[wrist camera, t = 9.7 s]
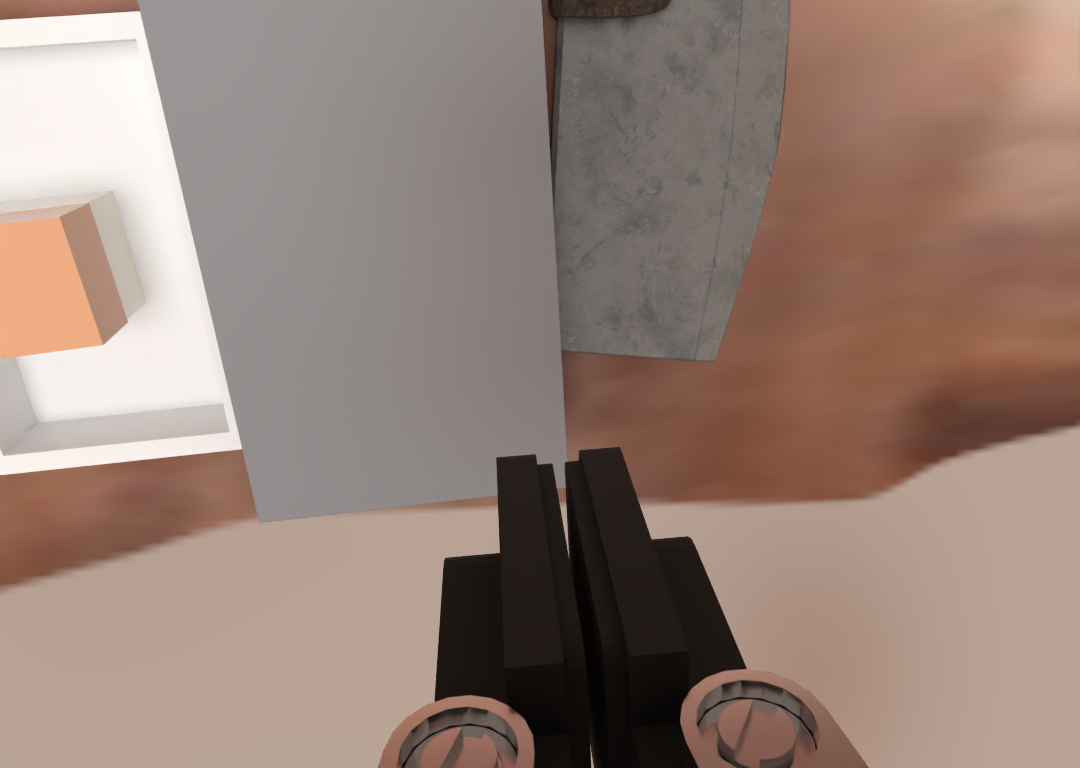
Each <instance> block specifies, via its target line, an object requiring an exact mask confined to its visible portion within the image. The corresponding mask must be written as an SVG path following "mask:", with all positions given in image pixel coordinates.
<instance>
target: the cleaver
mask: <svg viewBox="0 0 1080 768" xmlns="http://www.w3.org/2000/svg"><path fill="white" fill-rule="evenodd" d="M549 10H550V13H551V16H555V17H558V28H557V48H556V67H555V87H554V106H553V126H552V145H551V179H552V197H553V214H554V232H555V250H556V268H557V286H558V303H559V321H560V339H561V351H570V352H583V353H596V354H610V355H623V356H636V357H649V358H662V359H675V360H688V361H715V358H716V355H717V353H718V350H719V347H720V344H721V341H722V338H723V335H724V332H725V329H726V326H727V323H728V320H729V317H730V314H731V311H732V308H733V305H734V302H735V299H736V296H737V293H738V290H739V286H740V283H741V280H742V277H743V274H744V271H745V267H746V264H747V261H748V258H749V254H750V251H751V248H752V244H753V241H754V238H755V235H756V231H757V228H758V224H759V220H760V217H761V213H762V209H763V205H764V202H765V198H766V194H767V191H768V187H769V183H770V179H771V175H772V170H773V166H774V162H775V158H776V154H777V148H778V143H779V138H780V129H781V119H782V109H783V100H784V90H785V78H786V63H787V47H788V32H789V11H790V0H549Z"/></svg>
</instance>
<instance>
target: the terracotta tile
mask: <svg viewBox="0 0 1080 768" xmlns="http://www.w3.org/2000/svg"><path fill="white" fill-rule="evenodd" d="M127 323H128V321H127V317H126V314H125V311H124V308H123V305H122V302H121V299H120V296H119V293H118V290H117V287H116V284H115V281H114V278H113V274H112V271H111V268H110V265H109V262H108V259H107V256H106V253H105V250H104V247H103V244H102V241H101V238H100V235H99V231H98V228H97V225H96V222H95V219H94V216H93V213H92V210H91V207H90V204H89V203H84V204H76V205H68V206H60V207H52V208H44V209H36V210H28V211H20V212H12V213H4V214H0V359H5V358H12V357H19V356H27V355H34V354H41V353H49V352H56V351H63V350H71V349H78V348H85V347H93V346H100V345H104V344H105V343H106V342H107V341H108V340H109V339H110V338H112V337H113V336H114V335H115V334H116V333H117V332H118V331H119V330H120V329H121V328H122V327H124V326H125V325H126V324H127Z"/></svg>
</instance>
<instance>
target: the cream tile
mask: <svg viewBox="0 0 1080 768" xmlns="http://www.w3.org/2000/svg"><path fill="white" fill-rule="evenodd" d="M84 203H89V204H90V207H91V210H92V213H93V216H94V219H95V222H96V225H97V228H98V231H99V235H100V238H101V241H102V244H103V247H104V250H105V253H106V256H107V259H108V262H109V265H110V268H111V271H112V274H113V278H114V281H115V284H116V287H117V290H118V293H119V296H120V299H121V302H122V305H123V308H124V311H125V314H126V317H127V319H128V318H129V317H131V316H132V315H133V314H134V313H135V312H136V311H137V310H138V309H139V308H141V307H142V306H143V305H144V304H145V303H146V301H145V298H144V294H143V291H142V288H141V284H140V281H139V278H138V274H137V271H136V268H135V264H134V261H133V258H132V254H131V251H130V248H129V244H128V241H127V238H126V234H125V231H124V228H123V224H122V221H121V218H120V214H119V211H118V208H117V204H116V201H115V198H114V194H113V191H104V192H95V193H86V194H77V195H68V196H59V197H50V198H42V199H33V200H24V201H15V202H6V203H0V214H4V213H12V212H20V211H28V210H36V209H44V208H52V207H60V206H68V205H76V204H84Z"/></svg>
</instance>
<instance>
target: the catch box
mask: <svg viewBox="0 0 1080 768" xmlns="http://www.w3.org/2000/svg"><path fill="white" fill-rule="evenodd" d="M104 191H113V194H114V198H115V201H116V204H117V208H118V211H119V214H120V218H121V221H122V224H123V228H124V231H125V234H126V238H127V241H128V244H129V248H130V251H131V254H132V258H133V261H134V264H135V268H136V271H137V274H138V278H139V281H140V284H141V288H142V291H143V294H144V298H145V301H146V303H145V304H144V305H143V306H142V307H141V308H139V309H138V310H137V311H136V312H135V313H134V314H133V315H132V316H131V317H129V318H128V319H127V321H128V323H127V324H126V325H125V326H124V327H122V328H121V329H120V330H119V331H118V332H117V333H116V334H115V335H114V336H113V337H112V338H110V339H109V340H108V341H107V342H106V343H105V344H104V345H100V346H93V347H85V348H78V349H71V350H63V351H56V352H49V353H41V354H34V355H27V356H19V357H12V358H5V359H0V475H5V474H15V473H24V472H33V471H43V470H52V469H61V468H70V467H80V466H89V465H98V464H108V463H117V462H126V461H136V460H145V459H154V458H163V457H173V456H182V455H191V454H201V453H210V452H219V451H229V450H238V449H242V446H241V442H240V437H239V433H238V429H237V424H236V420H235V416H234V412H233V407H232V403H231V399H230V394H229V390H228V386H227V382H226V377H225V373H224V369H223V365H222V360H221V356H220V352H219V347H218V343H217V339H216V335H215V330H214V326H213V322H212V317H211V313H210V309H209V305H208V300H207V296H206V292H205V287H204V283H203V279H202V275H201V270H200V266H199V262H198V258H197V253H196V249H195V245H194V240H193V236H192V232H191V228H190V223H189V219H188V215H187V210H186V206H185V202H184V198H183V193H182V189H181V185H180V181H179V176H178V172H177V168H176V163H175V159H174V155H173V151H172V146H171V142H170V138H169V133H168V129H167V125H166V121H165V116H164V112H163V108H162V103H161V99H160V95H159V91H158V86H157V82H156V78H155V74H154V69H153V65H152V61H151V56H150V52H149V48H148V44H147V39H146V35H145V31H144V26H143V22H142V18H141V14H140V11H136V12H120V13H105V14H89V15H73V16H57V17H42V18H26V19H10V20H0V203H6V202H15V201H24V200H33V199H42V198H50V197H59V196H68V195H77V194H86V193H95V192H104Z"/></svg>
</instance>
